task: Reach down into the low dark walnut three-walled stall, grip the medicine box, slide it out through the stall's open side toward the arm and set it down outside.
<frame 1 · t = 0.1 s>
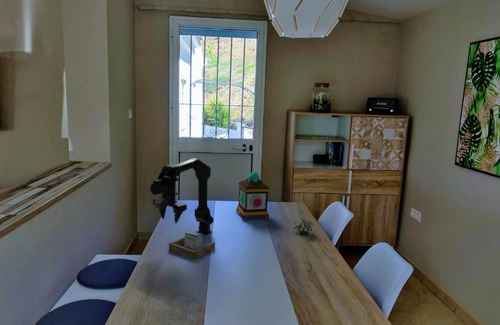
hand: (169, 220, 181), 15 cm above the table, tool pointing down, fingers open, 9 cm apart
medicine box: (193, 249, 185), on the table
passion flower: (302, 234, 214), on the table
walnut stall: (193, 248, 185), on the table
decorative lantern: (251, 216, 241), on the table
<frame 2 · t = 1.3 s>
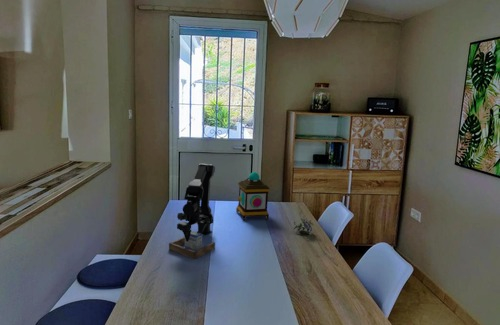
hand: (193, 238, 184), 6 cm above the table, tool pointing down, fingers open, 9 cm apart
nothing on the table moved.
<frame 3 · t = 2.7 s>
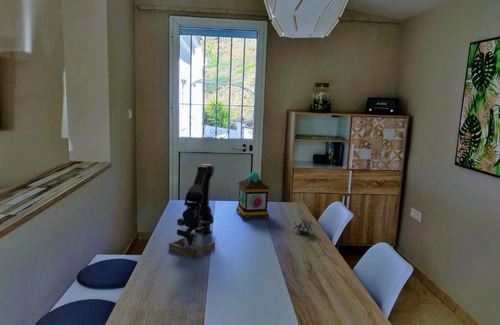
hand: (193, 244, 184), 3 cm above the table, tool pointing down, fingers closed on medicine box, 4 cm apart
medicine box: (193, 249, 185), on the table, touching gripper
everything else where it was.
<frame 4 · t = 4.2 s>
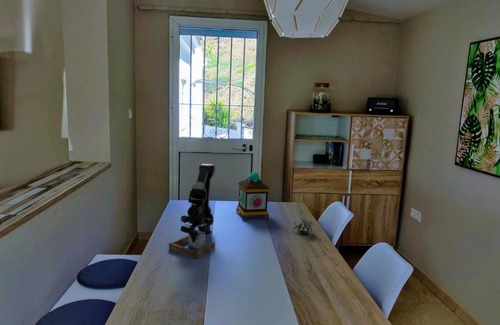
hand: (196, 240, 186), 3 cm above the table, tool pointing down, fingers open, 4 cm apart
medicine box: (196, 247, 187), on the table, touching gripper
everything else where it was.
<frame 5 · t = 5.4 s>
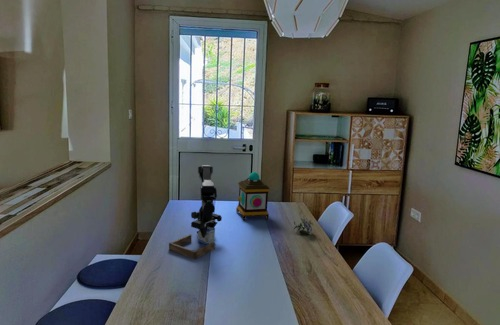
hand: (206, 236, 193), 4 cm above the table, tool pointing down, fingers closed on medicine box, 4 cm apart
medicine box: (205, 243, 193), on the table, touching gripper
everything else where it was.
when the fingers open (4 cm above the table, at t = 5.9 s): medicine box stays where it is, on the table.
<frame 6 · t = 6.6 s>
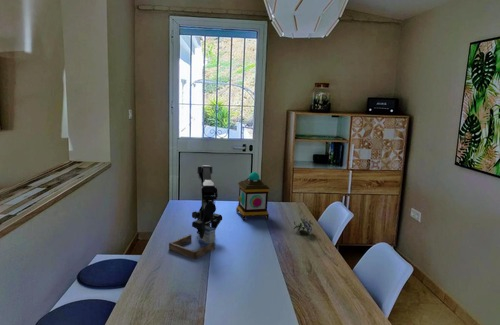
hand: (207, 236, 193), 4 cm above the table, tool pointing down, fingers open, 9 cm apart
medicine box: (206, 242, 194), on the table
everything else where it was.
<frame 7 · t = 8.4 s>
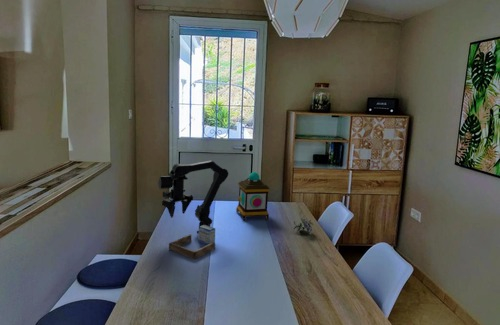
hand: (177, 215, 198), 12 cm above the table, tool pointing down, fingers open, 9 cm apart
nothing on the table moved.
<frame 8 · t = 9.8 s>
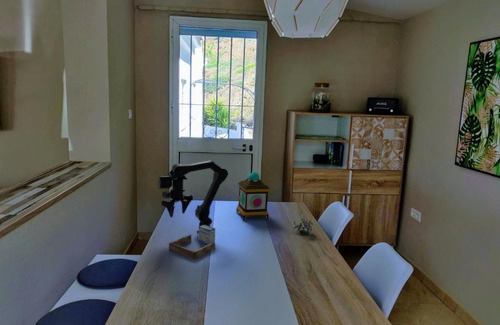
hand: (177, 215, 198), 12 cm above the table, tool pointing down, fingers open, 9 cm apart
nothing on the table moved.
at the end: medicine box inside the target area (1.4 cm from its centre), on the table; medicine box tilted 0°; the gripper is holding nothing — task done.
